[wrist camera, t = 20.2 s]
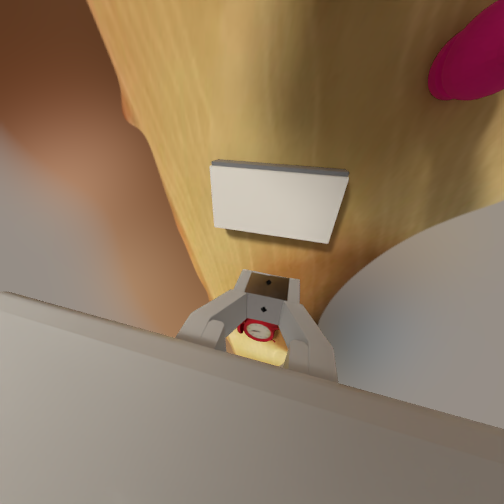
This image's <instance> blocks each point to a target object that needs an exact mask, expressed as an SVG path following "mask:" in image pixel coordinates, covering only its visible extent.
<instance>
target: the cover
mask: <svg viewBox="0 0 504 504" xmlns="http://www.w3.org/2000/svg"><path fill="white" fill-rule="evenodd" d="M210 177H211V190H212V202H213V215H214V227H218V228H225V229H232V230H238V231H245V232H252V233H259V234H265V235H272V236H279V237H286V238H292V239H299V240H306V241H312V242H319V243H326V244H328V243H329V240H330V236H331V233H332V230H333V227H334V224H335V221H336V218H337V215H338V211H339V208H340V205H341V202H342V199H343V196H344V193H345V190H346V187H347V183H348V180H349V177H343V176H331V175H319V174H307V173H296V172H284V171H272V170H260V169H248V168H236V167H225V166H213V165H211V166H210Z"/></svg>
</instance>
